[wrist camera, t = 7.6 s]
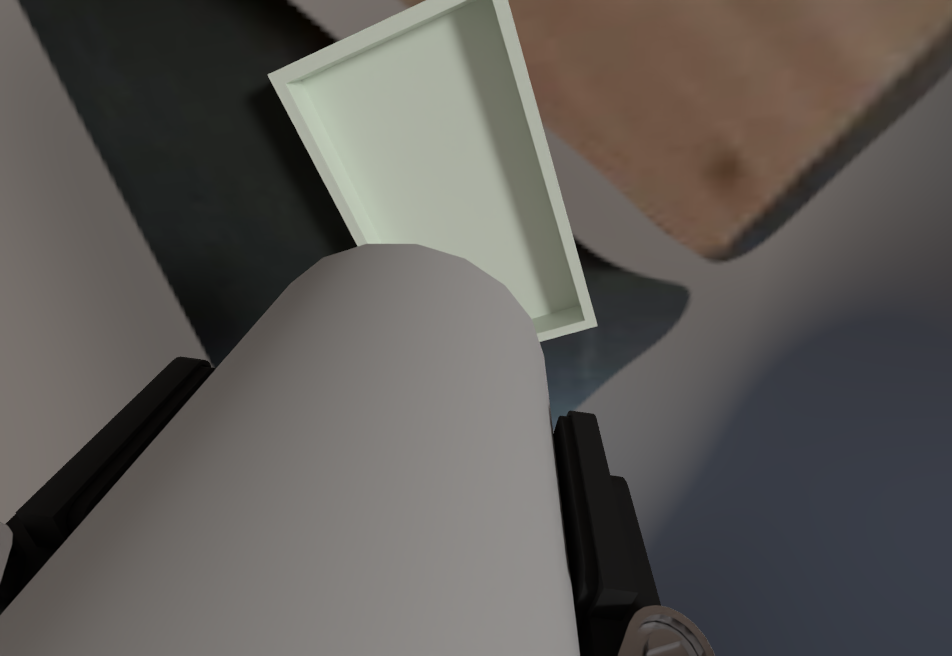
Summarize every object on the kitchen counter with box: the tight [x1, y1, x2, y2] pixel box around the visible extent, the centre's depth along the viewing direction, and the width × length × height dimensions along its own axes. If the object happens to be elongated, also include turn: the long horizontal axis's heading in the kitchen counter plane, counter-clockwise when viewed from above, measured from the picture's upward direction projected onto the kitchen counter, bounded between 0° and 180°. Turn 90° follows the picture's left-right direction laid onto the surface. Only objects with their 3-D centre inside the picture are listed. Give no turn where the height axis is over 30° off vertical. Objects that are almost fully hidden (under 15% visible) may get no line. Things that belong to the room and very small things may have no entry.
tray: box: [268, 0, 597, 342], centre depth 25 cm, size 18×11×2 cm, turn 20°
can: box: [0, 244, 580, 656], centre depth 8 cm, size 8×8×12 cm
